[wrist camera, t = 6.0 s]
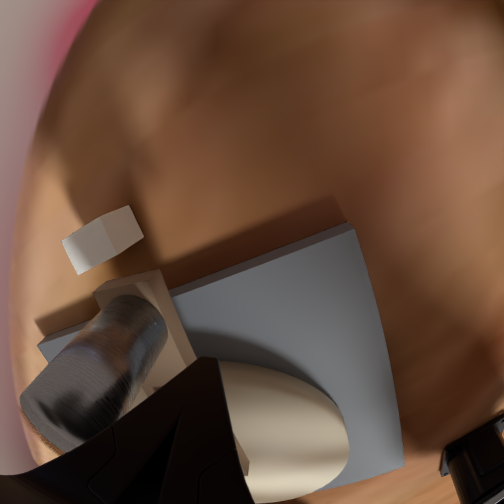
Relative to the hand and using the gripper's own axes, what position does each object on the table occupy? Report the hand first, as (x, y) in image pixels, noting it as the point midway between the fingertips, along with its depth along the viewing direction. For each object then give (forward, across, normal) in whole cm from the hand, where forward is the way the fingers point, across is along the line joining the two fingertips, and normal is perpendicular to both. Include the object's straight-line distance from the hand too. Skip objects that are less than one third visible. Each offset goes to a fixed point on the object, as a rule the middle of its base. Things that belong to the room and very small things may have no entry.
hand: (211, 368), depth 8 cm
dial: (+4, +1, +7) cm, 8 cm away
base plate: (+6, +1, +8) cm, 10 cm away
